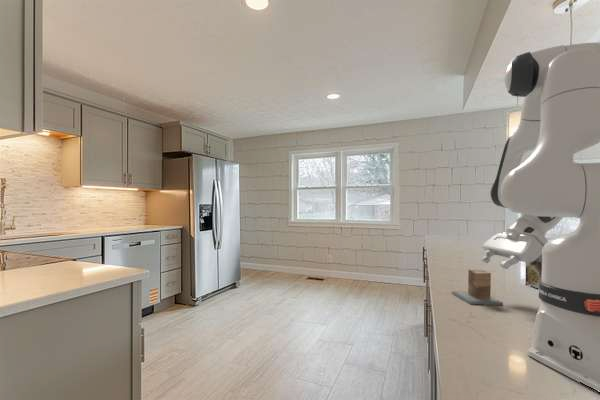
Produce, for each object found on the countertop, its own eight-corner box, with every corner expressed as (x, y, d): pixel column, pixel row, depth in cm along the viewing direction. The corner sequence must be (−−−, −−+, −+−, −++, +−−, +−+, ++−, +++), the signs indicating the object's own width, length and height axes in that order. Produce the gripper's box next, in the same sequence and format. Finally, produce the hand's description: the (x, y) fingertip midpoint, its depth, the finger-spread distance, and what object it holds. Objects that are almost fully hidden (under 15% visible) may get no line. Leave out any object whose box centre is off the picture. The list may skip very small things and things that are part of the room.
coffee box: (561, 292, 107) (561, 247, 107) (543, 291, 107) (543, 246, 107) (541, 285, 116) (541, 243, 116) (524, 284, 116) (524, 243, 116)
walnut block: (490, 298, 94) (490, 273, 94) (476, 298, 94) (476, 272, 94) (481, 294, 98) (482, 269, 99) (467, 294, 98) (468, 269, 99)
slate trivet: (502, 305, 91) (502, 302, 91) (470, 304, 91) (470, 301, 91) (480, 294, 102) (480, 291, 102) (451, 293, 102) (451, 290, 102)
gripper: (494, 225, 107) (467, 252, 107) (541, 230, 87) (508, 262, 86) (507, 238, 107) (479, 265, 107) (556, 246, 87) (523, 278, 86)
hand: (492, 264), depth 96 cm, fingers open, 8 cm apart
